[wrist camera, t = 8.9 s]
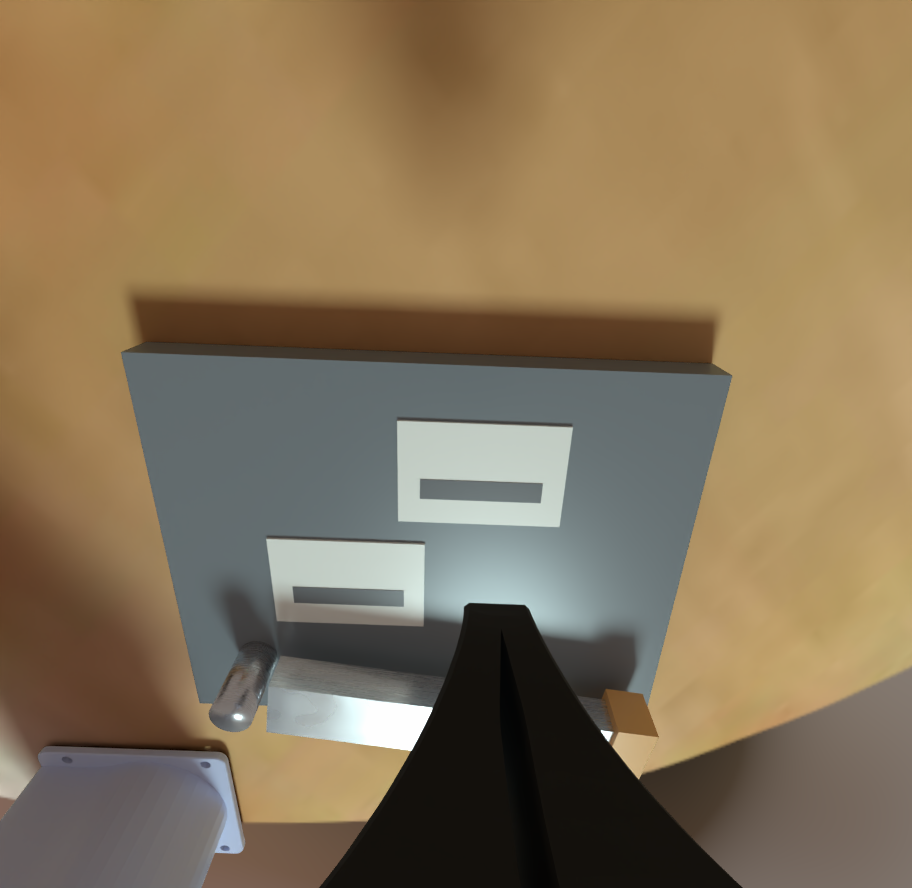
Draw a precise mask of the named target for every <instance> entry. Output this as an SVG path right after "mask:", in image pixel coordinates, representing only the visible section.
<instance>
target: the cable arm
mask: <svg viewBox="0 0 912 888" xmlns="http://www.w3.org/2000/svg"><path fill="white" fill-rule="evenodd" d="M444 681H445V678H442V677H435V676H427V675H420V674H413V673H405V672H398V671H391V670H384V669H376V668H369V667H362V666H354V665H347V664H340V663H332V662H325V661H318V660H310V659H303V658H296V657H288V656H281V657H280V659H279V662H278V664H277V666H276V669H275V671H274V674H273V676H272V679H271V681H270V684H269V686H268V707H267V732H271V733H279V734H287V735H295V736H302V737H310V738H318V739H326V740H334V741H342V742H349V743H357V744H365V745H373V746H381V747H389V748H396V749H404V750H412V749H413V747H414V745H415V743H416V741H417V739H418V737H419V735H420V733H421V731H422V730H423V727H424V725H425V723H426V721H427V719H428V717H429V715H430V713H431V711H432V708H433V706H434V704H435V702H436V699H437V697H438V695H439V692H440V690H441V688H442V686H443V683H444ZM577 697H578V699H579V701H580V702H581V704H582V705H583V707H584V708H585V709H586V711H587V712H588V714H589V715H590V717H591V718H592V720H593V721H594V723H595V724H596V725H597V727H598V728H599V729H600V731H601V732H602V734H603V735H604V736H605V738H606V739H607V740H608V742H609V743H610V744H611V746H612V747H613V748H614V750H615V751H616V752H617V753H618V755H619V756H620V757H621V758H622V760H623V761H624V762H625V763H626V765H627V766H628V767H629V768H630V770H631V771H632V772H633V773H634V774H635V776H636V777H637V778H638V779H639V778H640V776H641V774H642V772H643V770H644V768H645V765H646V763H647V761H648V759H649V757H650V755H651V753H652V751H653V749H654V747H655V745H656V743H657V740H658V738H659V736H658V734H657V731H656V728H655V726H654V723H653V720H652V718H651V715H650V712H649V710H648V707H647V704H646V702H645V699H644V696H643V694H640V693H633V692H626V691H618V690H611V689H605V692H604V694H603V697H602V699H596V698H588V697H581V696H577Z"/></svg>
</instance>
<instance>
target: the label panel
mask: <svg viewBox="0 0 912 888" xmlns="http://www.w3.org/2000/svg"><path fill="white" fill-rule="evenodd" d="M121 354H122V359H123V363H124V368H125V372H126V377H127V381H128V386H129V390H130V394H131V399H132V403H133V408H134V412H135V417H136V421H137V426H138V430H139V435H140V439H141V443H142V448H143V452H144V457H145V461H146V466H147V470H148V475H149V479H150V484H151V488H152V493H153V497H154V501H155V506H156V510H157V515H158V519H159V524H160V528H161V533H162V537H163V542H164V546H165V550H166V555H167V559H168V564H169V568H170V573H171V577H172V582H173V586H174V591H175V595H176V599H177V604H178V608H179V613H180V617H181V622H182V626H183V631H184V635H185V640H186V644H187V649H188V653H189V657H190V662H191V666H192V671H193V675H194V680H195V684H196V689H197V693H198V698H199V702H200V703H211V704H213V705H212V707H211V709H210V711H209V717H210V720H211V721H212V723H213V724H214V725H215V726H217V727H218V728H220V729H222V730H225V731H230V732H239V731H243V730H245V729H247V728H248V727H249V726H250V725H251V723H252V721H253V718H254V716H255V713H256V711H257V709H258V706H259V705H268V686H269V684H270V681H271V679H272V676H273V674H274V671H275V669H276V666H277V664H278V662H279V659H280V657H281V656H288V657H296V658H303V659H310V660H318V661H325V662H332V663H340V664H347V665H354V666H362V667H369V668H376V669H384V670H391V671H398V672H405V673H413V674H420V675H427V676H435V677H442V678H446V676H447V673H448V670H449V667H450V664H451V661H452V659H453V656H454V653H455V650H456V647H457V643H458V640H459V636H460V632H461V627H462V622H463V613H464V606H466V605H467V604H468V603H490V604H517V605H526V606H527V607H528V608H529V610H530V612H531V615H532V617H533V619H534V621H535V623H536V626H537V628H538V630H539V632H540V634H541V636H542V638H543V640H544V642H545V643H546V645H547V647H548V649H549V651H550V653H551V655H552V656H553V658H554V660H555V662H556V663H557V665H558V667H559V668H560V670H561V672H562V673H563V675H564V677H565V678H566V680H567V682H568V683H569V685H570V686H571V688H572V690H573V691H574V693H575V694H576V696H581V697H588V698H596V699H602V697H603V694H604V692H605V689H611V690H618V691H626V692H633V693H640V694H643V696H644V699H645V702H646V704H647V706H648V702H649V698H650V694H651V690H652V686H653V682H654V678H655V674H656V670H657V667H658V663H659V659H660V655H661V651H662V647H663V643H664V639H665V635H666V632H667V628H668V624H669V620H670V616H671V612H672V608H673V604H674V600H675V596H676V593H677V589H678V585H679V581H680V577H681V573H682V569H683V565H684V561H685V558H686V554H687V550H688V546H689V542H690V538H691V534H692V530H693V526H694V523H695V519H696V515H697V511H698V507H699V503H700V499H701V495H702V491H703V487H704V484H705V480H706V476H707V472H708V468H709V464H710V460H711V456H712V452H713V449H714V445H715V441H716V437H717V433H718V429H719V425H720V421H721V417H722V413H723V410H724V406H725V402H726V398H727V394H728V390H729V386H730V382H731V378H732V375H730V374H729V373H727V372H725V371H724V370H722V369H721V368H719V367H717V366H716V365H714V364H711V363H685V362H659V361H633V360H607V359H581V358H555V357H529V356H503V355H477V354H451V353H425V352H399V351H372V350H346V349H320V348H294V347H268V346H242V345H216V344H190V343H164V342H145V343H142V344H140V345H137V346H135V347H132V348H130V349H128V350H125V351H123V352H121Z"/></svg>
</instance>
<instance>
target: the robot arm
mask: <svg viewBox="0 0 912 888" xmlns="http://www.w3.org/2000/svg"><path fill="white" fill-rule="evenodd" d="M38 760H39V762H40V764H41V768H40V769H39V770H38V771H37V773H36V774H35V775H34V777H33V778H32V779H31V781H30V782H29V783H28V785H27V786H26V787H25V789H24V790H23V791H22V793H21V794H20V795H19V797H18V798H17V799H16V800H15V802H14V803H13V804H12V806H11V807H10V808H9V810H8V811H7V812H6V814H5V815H4V816H3V818H2V819H1V820H0V888H201V887H202V884H203V882H204V879H205V877H206V874H207V872H208V869H209V866H210V864H211V861H212V859H213V856H214V853H240V852H241V851H242V850H243V848H244V845H245V839H244V834H243V829H242V824H241V819H240V814H239V809H238V805H237V800H236V795H235V790H234V785H233V780H232V776H231V771H230V766H229V761H228V758H227V756H226V755H225V754H224V753H221V752H210V751H181V750H152V749H123V748H95V747H66V746H46V747H44V748H43V749H42V750H41V751H40V753H39V754H38ZM319 888H742V887H741V886H740V885H739V884H738V883H737V882H736V881H735V880H734V879H733V878H732V877H731V876H730V875H729V874H727V872H726V871H725V870H723V869H722V868H721V867H720V866H719V865H718V864H717V863H716V862H715V861H714V860H713V859H712V858H711V857H710V856H709V855H708V854H707V853H706V852H705V851H704V850H703V849H702V848H701V847H700V846H699V845H698V844H697V843H696V842H695V841H694V840H693V839H692V838H691V836H690V835H689V834H688V833H687V832H686V831H685V830H684V829H683V828H682V827H681V826H680V825H679V824H678V823H677V822H676V820H675V819H674V818H673V817H672V816H671V815H670V814H669V813H668V812H667V811H666V810H665V809H664V808H663V806H662V805H661V804H660V803H659V802H658V801H657V800H656V799H655V798H654V797H653V796H652V795H651V793H650V792H649V791H648V790H647V789H646V788H645V786H644V785H643V784H642V783H641V782H640V780H639V779H638V778H637V777H636V776H635V774H634V773H633V772H632V771H631V770H630V768H629V767H628V766H627V765H626V763H625V762H624V761H623V760H622V758H621V757H620V756H619V755H618V753H617V752H616V751H615V750H614V748H613V747H612V746H611V744H610V743H609V742H608V740H607V739H606V738H605V736H604V735H603V734H602V732H601V731H600V729H599V728H598V727H597V725H596V724H595V723H594V721H593V720H592V718H591V717H590V715H589V714H588V712H587V711H586V709H585V708H584V707H583V705H582V704H581V702H580V701H579V699H578V697H577V696H576V694H575V693H574V691H573V690H572V688H571V686H570V685H569V683H568V682H567V680H566V678H565V677H564V675H563V673H562V672H561V670H560V668H559V667H558V665H557V663H556V662H555V660H554V658H553V656H552V655H551V653H550V651H549V649H548V647H547V645H546V643H545V642H544V640H543V638H542V636H541V634H540V632H539V630H538V628H537V626H536V623H535V621H534V619H533V617H532V615H531V612H530V610H529V608H528V607H527V606H526V605H517V604H490V603H468V604H467V605H466V606H464V613H463V622H462V627H461V632H460V636H459V640H458V643H457V647H456V650H455V653H454V656H453V659H452V661H451V664H450V667H449V670H448V673H447V676H446V678H445V681H444V683H443V686H442V688H441V690H440V692H439V695H438V697H437V699H436V702H435V704H434V706H433V708H432V711H431V713H430V715H429V717H428V719H427V721H426V723H425V725H424V727H423V730H422V731H421V733H420V735H419V737H418V739H417V741H416V743H415V745H414V747H413V749H412V750H411V752H410V754H409V756H408V758H407V760H406V761H405V763H404V765H403V766H402V768H401V770H400V771H399V773H398V775H397V777H396V778H395V780H394V782H393V783H392V785H391V787H390V788H389V790H388V792H387V793H386V795H385V796H384V798H383V799H382V801H381V803H380V804H379V806H378V807H377V809H376V810H375V812H374V813H373V815H372V816H371V817H370V819H369V820H368V822H367V823H366V825H365V826H364V828H363V829H362V831H361V832H360V833H359V835H358V836H357V838H356V839H355V841H354V842H353V844H352V845H351V846H350V848H349V849H348V851H347V852H346V854H345V855H344V856H343V858H342V859H341V860H340V862H339V863H338V865H337V866H336V867H335V868H334V870H333V871H332V872H331V874H330V875H329V876H328V877H327V878H326V880H325V881H324V882H323V884H322V885H321V886H320V887H319Z"/></svg>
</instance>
